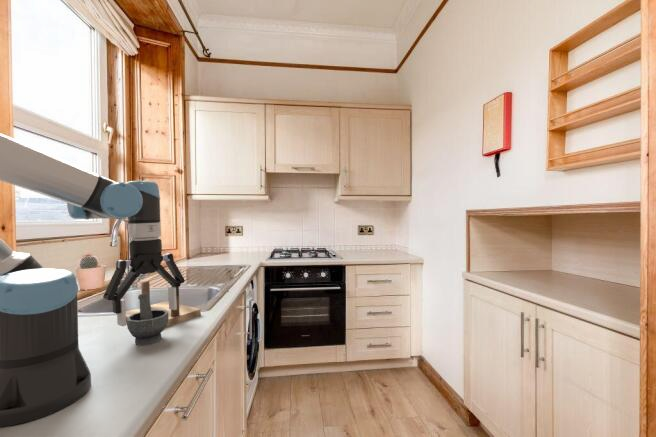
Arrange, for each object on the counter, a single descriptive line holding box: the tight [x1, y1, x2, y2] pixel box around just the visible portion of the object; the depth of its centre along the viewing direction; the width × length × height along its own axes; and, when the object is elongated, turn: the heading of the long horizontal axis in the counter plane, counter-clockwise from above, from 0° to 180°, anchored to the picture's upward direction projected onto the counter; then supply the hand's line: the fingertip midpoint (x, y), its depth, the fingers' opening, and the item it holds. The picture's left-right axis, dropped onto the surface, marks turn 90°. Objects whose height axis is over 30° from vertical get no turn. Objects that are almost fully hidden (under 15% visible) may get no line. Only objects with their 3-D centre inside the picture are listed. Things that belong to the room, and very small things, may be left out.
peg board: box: [125, 280, 202, 328], centre depth 101 cm, size 16×20×11 cm
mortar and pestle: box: [126, 293, 169, 346], centre depth 83 cm, size 11×9×12 cm
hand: (149, 316), depth 83 cm, fingers open, 13 cm apart
